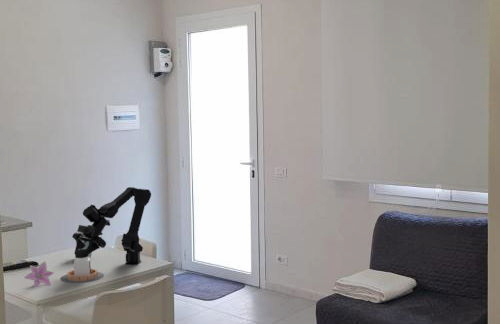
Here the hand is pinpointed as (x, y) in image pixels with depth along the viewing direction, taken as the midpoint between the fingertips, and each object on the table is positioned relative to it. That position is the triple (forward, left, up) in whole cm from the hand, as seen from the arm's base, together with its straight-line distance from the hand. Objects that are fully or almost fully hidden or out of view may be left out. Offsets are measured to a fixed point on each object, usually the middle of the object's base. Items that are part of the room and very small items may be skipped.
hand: (79, 255), depth 279 cm
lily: (+13, +13, -11) cm, 22 cm away
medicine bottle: (-1, -1, -10) cm, 10 cm away
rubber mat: (0, -1, -11) cm, 11 cm away
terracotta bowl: (0, -1, -11) cm, 11 cm away
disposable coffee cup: (+16, -38, -11) cm, 43 cm away
